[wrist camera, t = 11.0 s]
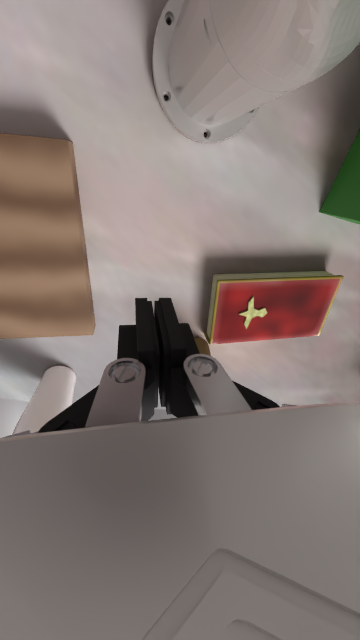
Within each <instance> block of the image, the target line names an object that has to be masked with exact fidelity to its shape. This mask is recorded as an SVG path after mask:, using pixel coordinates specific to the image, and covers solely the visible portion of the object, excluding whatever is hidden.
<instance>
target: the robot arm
mask: <svg viewBox="0 0 360 640" xmlns="http://www.w3.org/2000/svg"><path fill="white" fill-rule="evenodd" d="M166 20H170V22H171V25H168V24H167V23H166ZM359 43H360V0H168V1H167V3H166V5H165V6H164V8H163V11H162V14H161V16H160V19H159V21H158V24H157V28H156V32H155V37H154V43H153V51H152V71H153V79H154V86H155V89H156V93H157V97H158V100H159V102H160V104H161V107H162V109H163V111H164V113H165V115H166V116H167V118H168V119H169V121H170V122H171V124H172V125H173V126H174V127H175V128H176V129H177V130H178V131H179V132H180V133H182V134H183V135H184V136H186V137H187V138H189V139H192V140H194V141H196V142H201V143H217V142H221V141H224V140H226V139H229V138H231V137H233V136H234V135H236V134H237V133H239V132H240V131H241V130H242V129H243V128H244V127H245V126H246V125H247V124H248V123H249V122H250V121H251V119H252V118H253V117H254V115H255V114H256V112H257V110H258V108H259V107H260V106H262V105H264V104H266V103H268V102H271V101H273V100H275V99H277V98H279V97H281V96H283V95H285V94H287V93H290V92H292V91H294V90H296V89H298V88H300V87H302V86H304V85H305V84H307V83H309V82H311V81H313V80H315V79H317V78H319V77H321V76H322V75H324V74H325V73H327V72H329V71H330V70H331V69H333V68H334V67H335V66H336V65H338V64H339V63H340V62H341V61H342V60H344V59H345V58H346V57H347V56H348V55H349V54H350V53H351V52H352V51H353V50H354V49H355V47H356V46H357V45H358V44H359ZM165 95H166V96H167V97H168V101H165V100H164V96H165ZM204 132H206V133H207V137H206V138H205V137H204ZM135 305H136V325H120V326H119V338H118V354H117V360H115V361H113V362H111V363H110V364H109V365H107V366H106V368H105V370H104V372H103V375H102V378H101V381H100V384H99V385H98V386H97V387H96V388H94V389H93V390H91V391H90V392H89V393H87V394H86V395H84V396H83V397H82V398H80V399H79V400H77V401H76V402H75V403H73V404H72V405H70V406H69V407H68V408H66V409H65V410H64V411H62V412H61V413H59V414H58V415H57V416H55V417H54V418H52V419H51V420H50V421H48V422H47V423H46V424H45V425H44V426H42V427H41V428H40V430H39V431H37V432H34V433H31V431H30V430H28V431H24V432H20V433H17V434H13V435H10V436H6V437H3V438H0V640H360V404H346V403H334V404H315V405H302V406H297V405H287V404H282V407H280V406H279V405H277V404H276V403H275V402H273V401H272V400H270V399H268V398H266V397H264V396H262V395H260V394H258V393H256V392H254V391H252V390H250V389H248V388H246V387H244V386H242V385H240V384H238V383H236V382H234V381H232V380H231V379H230V377H229V376H228V374H227V373H226V371H225V370H224V368H223V367H222V366H221V364H220V363H219V362H218V361H217V360H216V359H215V358H213V357H212V356H209V355H205V354H200V352H199V350H198V347H197V345H196V342H195V339H194V337H193V334H192V331H191V329H190V326H189V324H188V323H180V324H179V322H178V319H177V316H176V313H175V310H174V307H173V303H172V300H171V298H159V301H155V308H154V313H153V307H152V301H147V298H135ZM158 387H159V395H160V402H161V407H166V411H167V414H173V415H174V416H176V417H177V418H171V419H161V420H152V421H148V420H149V419H150V418H151V417H152V416H153V415H154V408H155V407H158Z"/></svg>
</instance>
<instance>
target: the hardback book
mask: <svg viewBox="0 0 360 640" xmlns="http://www.w3.org/2000/svg"><path fill="white" fill-rule="evenodd" d="M319 212H321V213H324V214H327V215H331V216H334V217H337V218H340V219H343V220H347V221H350V222H353V223H356V224H360V130H359V132H358V134H357V136H356V138H355V140H354V142H353V144H352V146H351V148H350V150H349V152H348V154H347V156H346V158H345V160H344V162H343V164H342V167H341V169H340V171H339V173H338V175H337V177H336V179H335V181H334V183H333V185H332V187H331V189H330V191H329V193H328V195H327V197H326V199H325V201H324V203H323V205H322V207H321V209H320V211H319Z"/></svg>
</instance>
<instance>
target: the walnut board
mask: <svg viewBox="0 0 360 640" xmlns="http://www.w3.org/2000/svg"><path fill="white" fill-rule="evenodd" d="M94 329H95V317H94V309H93V301H92V293H91V285H90V277H89V269H88V261H87V253H86V245H85V237H84V229H83V221H82V213H81V205H80V198H79V190H78V182H77V174H76V166H75V158H74V150H73V142H70V141H68V140H63V139H54V138H44V137H34V136H24V135H14V134H4V133H0V339H5V338H30V337H55V336H80V335H93V334H94Z"/></svg>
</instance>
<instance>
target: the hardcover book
mask: <svg viewBox="0 0 360 640" xmlns="http://www.w3.org/2000/svg"><path fill="white" fill-rule="evenodd" d="M342 279H343V276H342V275H336V276H335V275H333V274H331V273H329V272H327V271H308V272H277V273H245V274H214V275H213V280H212V289H211V298H210V307H209V316H208V325H207V332H205V333H204V334H205V337H206V340H207V342H208V343H209V344H221V343H233V342H246V341H258V340H270V339H282V338H294V337H307V336H319V335H320V333H321V330H322V328H323V325H324V323H325V320H326V318H327V315H328V313H329V311H330V308H331V306H332V303H333V301H334V298H335V296H336V293H337V291H338V288H339V286H340V284H341V281H342Z"/></svg>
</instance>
